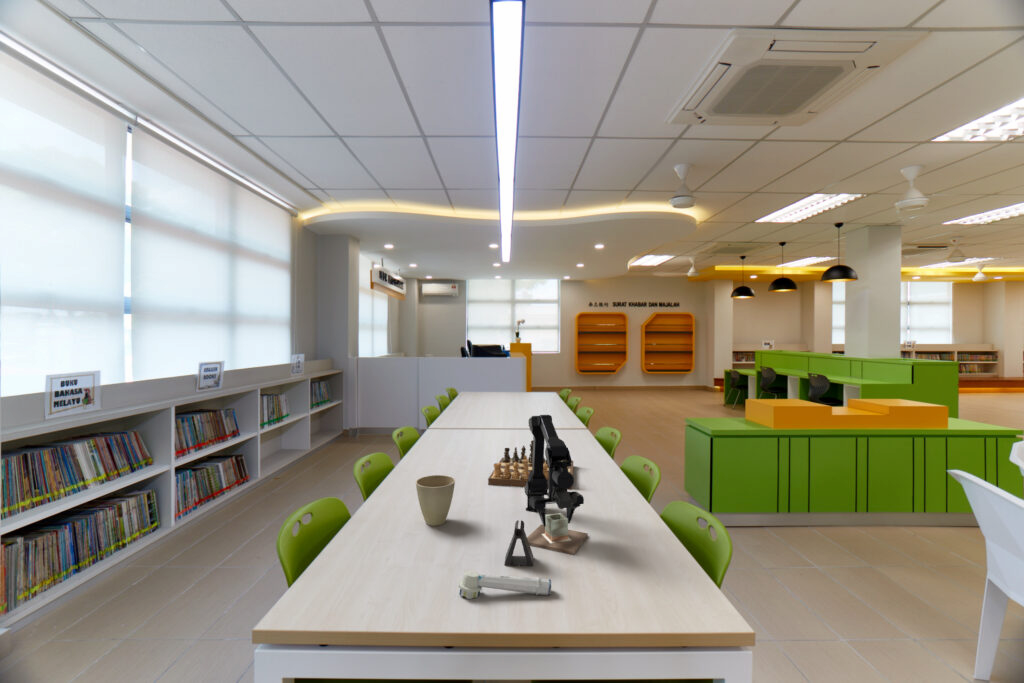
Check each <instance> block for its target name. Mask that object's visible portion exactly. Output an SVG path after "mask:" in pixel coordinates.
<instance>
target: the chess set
mask: <svg viewBox="0 0 1024 683" xmlns="http://www.w3.org/2000/svg"><path fill="white" fill-rule="evenodd" d="M526 450H527V448H526V446H525V445H522V447H521V452H520V456H519V454H518V447H517V446H515V447H514V452H513V453H512V454H513V455H512V456H513V457H510V456H511V455H510V451H511V449H510V447H505V448H504V452H503V454H504V455H503V457H501V459H500V460H499V462H496V463H495V462H494V464H493V468H494V469H493V470H492V473H490V475H489V476H488V478H487V485H488V486H497V487H498V486H501V487H514V488H515V487H519V488H525V485H526V482H527V481H528V475H529V474H530V472H531V471H532V460H533V439H532V440H531V441H530V443H529V451H530V452H529V456H527V455H526ZM565 461H567V460H565ZM559 462H560V461H559ZM567 468H568V472H569V473H571V474H572V476H573V477H574V460H572V462H571V466H567ZM543 473H544V475H545V477H546V479H547V481H549V466H548V463H547V460H546V457H544V464H543ZM568 490H573V485H572V486H571V487H570V488H569V489H568Z"/></svg>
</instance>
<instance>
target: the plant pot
mask: <svg viewBox="0 0 1024 683" xmlns="http://www.w3.org/2000/svg"><path fill="white" fill-rule="evenodd" d="M455 483H456V479H455V478H454V477H452V476H449V475H446V474H445V475H441V474H435V475H434V474H433V475H426V476H421V477H420V478H418V479H417V480H416V481H415V486H416V493H417V500H418V504H419V507H420V508H419V509H420V511H421V514H422V517H423V519H424V522H425V524H426V525H428V526H432V527H434V526H437V527H438V526H441V525H443V524H445V522H446V520H447V518H448V514H449V511H450V509H451V505H452V501H453V496H454V492H455V491H454V490H455V485H456V484H455Z"/></svg>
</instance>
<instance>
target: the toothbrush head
mask: <svg viewBox="0 0 1024 683" xmlns="http://www.w3.org/2000/svg"><path fill="white" fill-rule="evenodd" d="M458 588H459V595H460V596H461V597H465V599H468V600H472V599H473V598H476V599H477V598H478V597H479V596H480V594H481V591H482V590H483V588H487V589H495V590H502V591H511V592H517V593H526V594H532V595H533V594H534V595H536V596H538V595H539V596H540V595H541V596H550V595H551V592H552V580H551V579H549V578H543V577H541V578H540V576H537V577H526V576H510V575H497V574H495V575H493V574H480V573H478V572H477V571H475V570H468V571H466V572H465V573H464V574H463V579H462V580H460V581H459V584H458Z"/></svg>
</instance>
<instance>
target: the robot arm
mask: <svg viewBox="0 0 1024 683" xmlns="http://www.w3.org/2000/svg"><path fill="white" fill-rule="evenodd" d="M552 416H553V415H550V414H540V415H531V417H529V419H528V427H529V431H530V433H531V434H532V438H533V439H532V440H533V460H532V471H531V472H530V474H529V475H528V481H527V482H526V485H525V487H524V493H525V495H526V497H527V502H526V505H527V507H526V508H525V510H526V511H529V512H530V511H531V512H534V513H538V515H539V518H540V520H541V524H542V525H543V526H544V527H545V526H546V518H545V515H546V511H547V509H546V507H547V505H549V504H556V505H557V508H558V509H561V510H563V509H565V510H566V518H567V519H568V524H570V523H571V520H572V517H573V515H574V513H575V510H576V509H577V508H578V507H581V505H584V503H585V498H584V496H583V495H582V494H581V493H579V492H578V491H576V490H575V491H568V490H570V489H569V488H570V487H571V486H572V487H573V485H574V482H575V478H574V475H573V476H572V474H571V473H569V472H568V468H567V466H571V462H572V461H573V460H572V456H571V453H570V450H569V448H568V447H567V445H566V442H565V441H564V440H562V439H561V438H559V436H558V433H557V431H556V430H557V429H555V425H554V423H553V417H552ZM545 444H546V446H545ZM544 458H545V459H546V460H547V463H548V466H549V481H547V479H546V477H545V475H544V473H543V464H544ZM565 460H567V461H565ZM559 461H560V462H559ZM545 496H547V498H546V497H545Z"/></svg>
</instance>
